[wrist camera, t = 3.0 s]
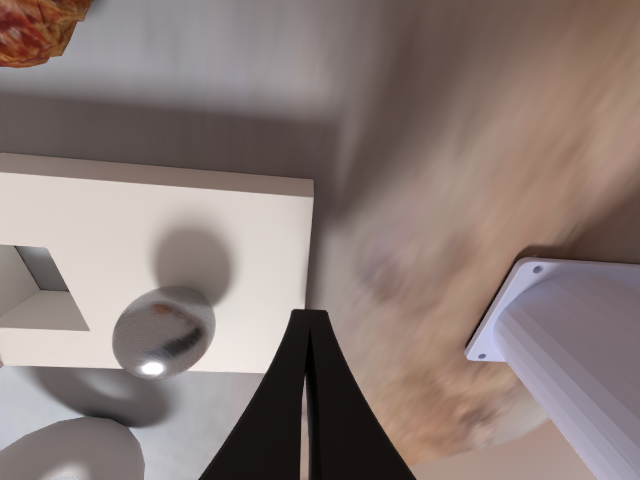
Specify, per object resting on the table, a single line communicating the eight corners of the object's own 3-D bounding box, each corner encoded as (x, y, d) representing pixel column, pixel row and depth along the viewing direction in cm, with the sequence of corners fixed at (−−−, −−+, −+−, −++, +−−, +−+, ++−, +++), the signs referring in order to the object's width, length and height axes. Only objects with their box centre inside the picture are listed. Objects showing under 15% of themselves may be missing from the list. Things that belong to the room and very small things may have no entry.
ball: (222, 271, 10) (185, 338, 7) (229, 327, 11) (201, 400, 8) (140, 267, 9) (66, 333, 7) (158, 324, 11) (104, 398, 8)
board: (313, 179, 10) (313, 210, 7) (300, 336, 15) (297, 397, 12) (-93, 144, 9) (-310, 162, 6) (30, 324, 14) (-56, 389, 11)
